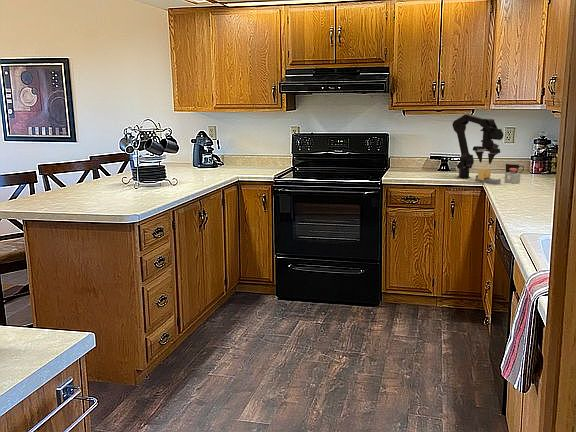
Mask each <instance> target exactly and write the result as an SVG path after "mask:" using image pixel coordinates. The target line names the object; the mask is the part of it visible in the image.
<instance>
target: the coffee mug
mask: <svg viewBox="0 0 576 432" xmlns="http://www.w3.org/2000/svg"><path fill="white" fill-rule="evenodd" d="M520 167H522V170H521V171H519V168H520ZM510 168H516V169H517V171H515V173H519V174H521V173H522V172H523V171H524V170H525V166H523V165H520V163H516V162H506V163H505V173H509V172H511V170H510Z"/></svg>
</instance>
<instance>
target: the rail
mask: <svg viewBox="0 0 576 432" xmlns="http://www.w3.org/2000/svg"><path fill="white" fill-rule="evenodd" d="M475 181H476V182H477V181H478V182H482V183H486V184H487V183H488V184H492V185H501V181H502V179H501V178H497V179H496V178H491V177H490V178H485V179H484V180H480V179H478V174H477V175H475Z"/></svg>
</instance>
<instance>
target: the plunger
mask: <svg viewBox="0 0 576 432" xmlns="http://www.w3.org/2000/svg"><path fill="white" fill-rule="evenodd" d="M510 170H511V174H515V171H517V169H516V168H510Z"/></svg>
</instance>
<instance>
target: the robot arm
mask: <svg viewBox="0 0 576 432" xmlns="http://www.w3.org/2000/svg"><path fill="white" fill-rule="evenodd" d="M469 122H471V123H472V124H473V123H474V124H477V125H479V126H480V127H481V128H482V129H480V132H482V139H481V140H480V142H481V145H474V146H473V147H472V151H474V153H475V155H476V157H477V159H478V161H479V163H482V162H483V156H484V155H483V154H484V153H485V152H488V153H487V154H488V155H487V158H488V164H489V165H491V164H492V162H493V160H494V158H495V156H497V155H498V154H501V148H499V146H500V145H498V144H497V143H494V140H495V141H496V140H498V141H501V140H503V138H504V132H503V131H502V128H498V126H497V124H496V122H495V119H494V118H484V117H480V116H479V117H478V116H475V115H473V114H469V113H468V114H467V113H465V114H463V115H462V116H460V117H459V118H456V119H455V120H453V122H452V128H453V130H454V131H453V132H455V133H456V135H457V139H458V143H459V144H458V145H459V149H460V156H459V157H460V158H459V162H458V163H457V165H456V168H457V169H458V176H456V178H460V179H471V177H470V169H472V168H473V165H474V163H475V162H474V161H475V159H474V155H473V154H471V153H470V151H469V145H468V143H467V137H466V129H467V125H468V124H469Z"/></svg>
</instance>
